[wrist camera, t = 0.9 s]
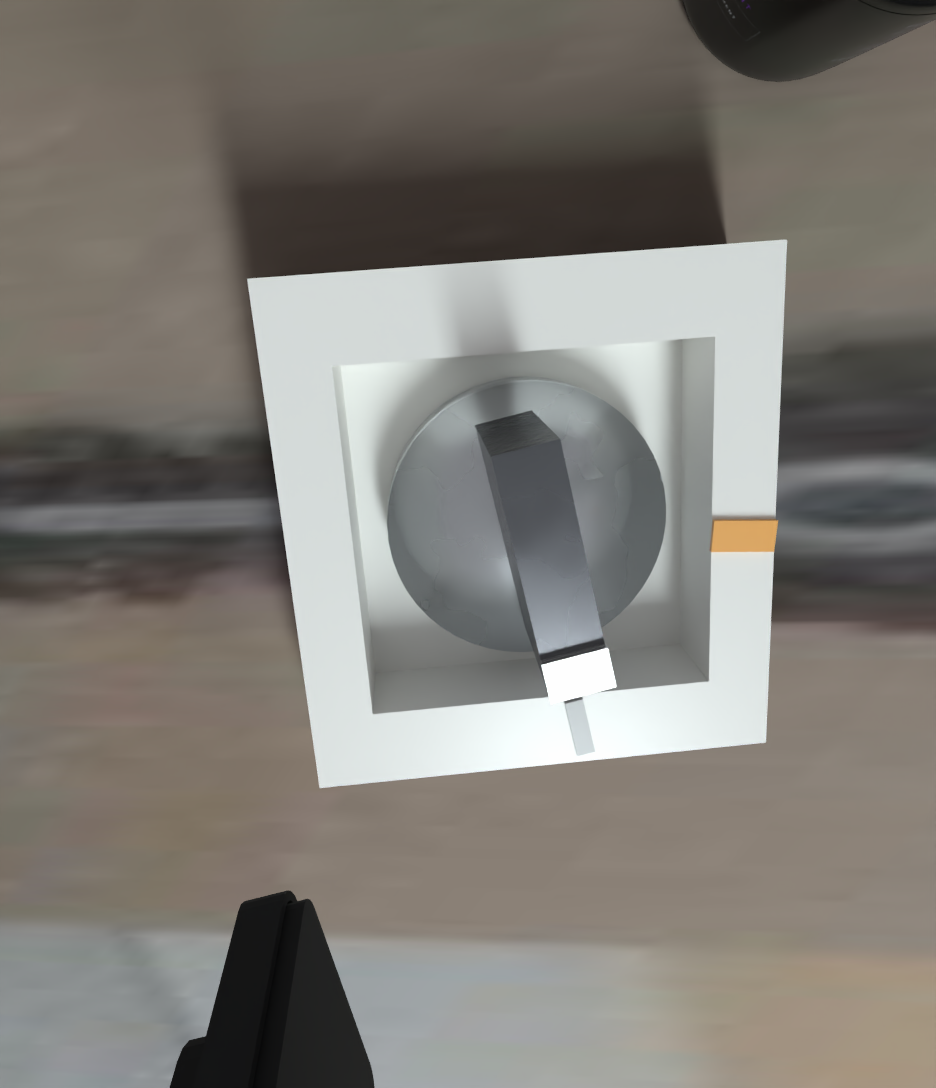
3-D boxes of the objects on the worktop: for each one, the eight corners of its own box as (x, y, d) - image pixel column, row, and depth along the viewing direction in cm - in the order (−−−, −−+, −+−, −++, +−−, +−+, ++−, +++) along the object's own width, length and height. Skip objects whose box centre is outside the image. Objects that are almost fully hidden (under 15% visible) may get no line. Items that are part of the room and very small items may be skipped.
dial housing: (728, 246, 28) (790, 239, 23) (718, 682, 33) (768, 744, 28) (272, 279, 27) (246, 278, 23) (331, 720, 32) (319, 790, 27)
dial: (355, 416, 27) (339, 457, 20) (627, 345, 27) (697, 363, 20) (427, 663, 30) (433, 767, 23) (673, 598, 29) (748, 685, 23)
